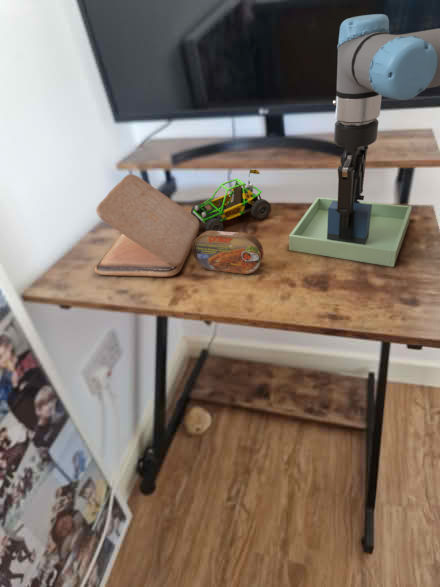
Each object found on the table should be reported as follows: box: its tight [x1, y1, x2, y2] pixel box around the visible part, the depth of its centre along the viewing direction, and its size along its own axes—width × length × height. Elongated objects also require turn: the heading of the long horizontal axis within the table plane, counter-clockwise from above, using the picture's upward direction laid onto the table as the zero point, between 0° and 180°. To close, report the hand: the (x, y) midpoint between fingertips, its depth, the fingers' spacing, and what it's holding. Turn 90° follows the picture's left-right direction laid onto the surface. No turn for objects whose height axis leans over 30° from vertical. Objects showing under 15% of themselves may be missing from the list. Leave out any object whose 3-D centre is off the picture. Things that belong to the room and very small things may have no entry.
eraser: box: [327, 201, 372, 244], centre depth 85 cm, size 8×4×8 cm, turn 62°
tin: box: [191, 230, 265, 275], centre depth 82 cm, size 15×3×8 cm, turn 68°
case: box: [94, 174, 201, 278], centre depth 89 cm, size 20×21×16 cm
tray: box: [288, 196, 413, 268], centre depth 88 cm, size 21×19×4 cm
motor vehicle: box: [190, 169, 272, 232], centre depth 100 cm, size 12×19×11 cm, turn 115°
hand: (347, 233), depth 87 cm, fingers closed on eraser, 3 cm apart
